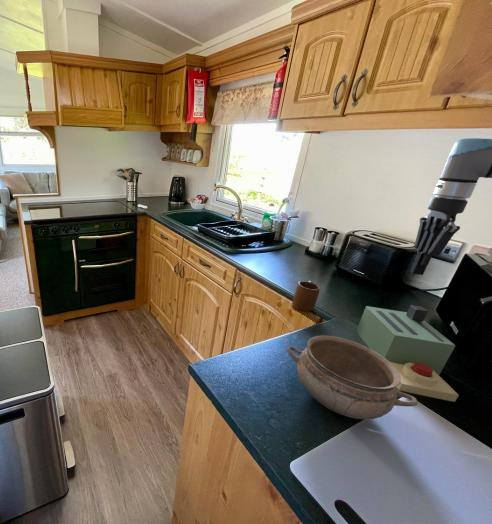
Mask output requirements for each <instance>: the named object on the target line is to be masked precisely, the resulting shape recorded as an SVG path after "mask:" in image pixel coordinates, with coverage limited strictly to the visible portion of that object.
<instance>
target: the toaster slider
mask: <svg viewBox="0 0 492 524" xmlns="http://www.w3.org/2000/svg"><path fill="white" fill-rule="evenodd" d="M406 312H407V314H406V315H407V316H408V317H409V318H410V319H412V320H417V321H425V319H426V317H427V314H428V313H429V311H428V310H427V309H425V308H424V307H423V306H420V305H413V304H410V306H409V308H408V309H407V311H406Z"/></svg>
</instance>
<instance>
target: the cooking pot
mask: <svg viewBox="0 0 492 524" xmlns="http://www.w3.org/2000/svg"><path fill="white" fill-rule="evenodd" d="M286 352H287V354H288V355H289V356H290V357H291V359H293V361H295V363H296V371H297V377H298V379H299V381H300V383H301V386H302V387H303V388H304V389H305V391H306V392H307V393H308V394H309V395H310V396H311V397H312V398H313V399H314V400H315V401H316V402H318V403H319V404H320V405H322V406H323V407H325V408H327V409H328V410H330V411H332V412H334V413H336V414H338V415H341V416H344V417H347V418H352V419H356V420H375V419H378V418H382V417H384V416H385V415H387V414H389V413H390V412H391V411H392V410H393V408H394V407H416V406H417V405H418V404H419V401H418V400H417V398H416V397H414V396H413V395H410V394H408V393H406V392H403V391H399V390H398V389H397V387H396V386H398V385H399V384H400V381H401V377H400V374H399V372H398V370H397V369H396V368H395V367H394V366H393V365H392V364H391V363H390V362H389V361H388V360H387V359H385V358H384V357H383V356H381V355H380V354H378V353H377V352H375V351H373V350H371V349H370V348H369V347H368V346H365V345H364V344H361V343H358V342H356V341H353V340H351V339H350V340H349V339H347V338H344V337H339V336H333V335H316V336H313V337H310V338H309V339H308V340H307V342H306V347H305V349H304V350H300V349H299V348H296V347H294V346H291V345H289V346H287V347H286ZM295 353H296V354H298V355H296V354H295ZM397 397H398V398H404V399H407V400H410V401H405V400H401V399H398V398H397Z"/></svg>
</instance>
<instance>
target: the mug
mask: <svg viewBox="0 0 492 524" xmlns="http://www.w3.org/2000/svg"><path fill="white" fill-rule="evenodd" d="M320 290H321V287H320V286H319V285H317V284H316V283H314V282H313V281H312V280H308V281H305V280H304V281H301V280H300V281H298V283H297V286H296V288H295V292H294V295H293V299H292V304H291V305H292V306H293V307H294V308H295V309H297V310H299V311H303V312H312V311H313V310H315V307H316V303H317V301H318V297H319V294H320Z"/></svg>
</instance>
